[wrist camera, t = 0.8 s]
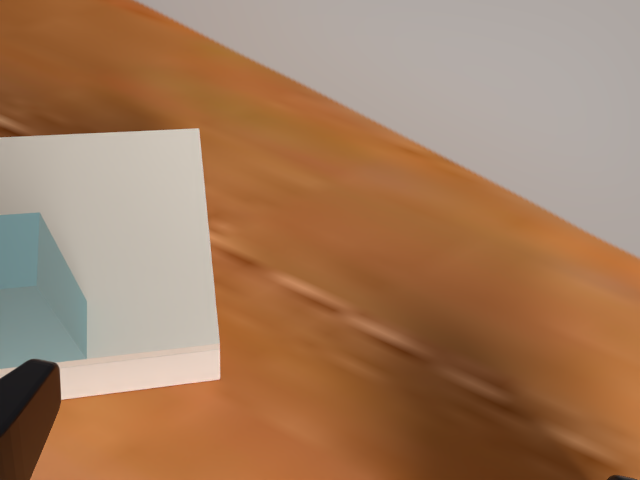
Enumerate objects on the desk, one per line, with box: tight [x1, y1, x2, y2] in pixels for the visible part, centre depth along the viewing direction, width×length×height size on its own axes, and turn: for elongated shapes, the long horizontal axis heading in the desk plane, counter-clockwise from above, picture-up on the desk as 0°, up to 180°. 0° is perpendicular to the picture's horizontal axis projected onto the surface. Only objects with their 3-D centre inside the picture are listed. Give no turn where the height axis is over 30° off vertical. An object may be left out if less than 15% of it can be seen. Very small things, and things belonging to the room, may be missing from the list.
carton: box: [0, 349, 220, 400], centre depth 23 cm, size 9×12×4 cm
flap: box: [0, 129, 220, 375], centre depth 19 cm, size 9×12×7 cm
